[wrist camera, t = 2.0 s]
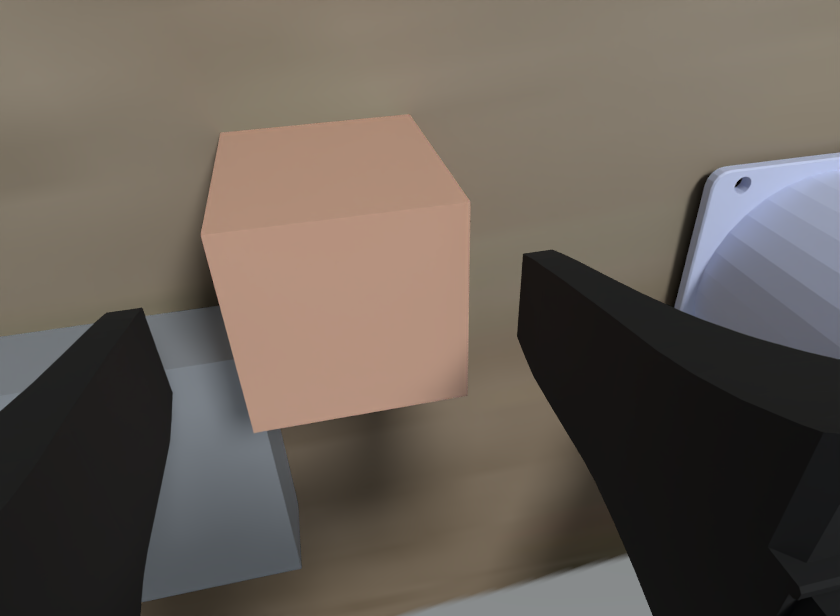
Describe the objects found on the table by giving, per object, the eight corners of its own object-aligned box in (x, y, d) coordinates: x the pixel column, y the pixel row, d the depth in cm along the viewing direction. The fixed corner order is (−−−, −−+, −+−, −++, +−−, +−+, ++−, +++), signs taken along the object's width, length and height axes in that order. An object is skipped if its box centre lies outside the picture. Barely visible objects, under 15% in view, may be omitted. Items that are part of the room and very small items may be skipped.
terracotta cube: (409, 113, 15) (470, 201, 11) (415, 271, 18) (467, 395, 13) (220, 132, 14) (200, 234, 10) (256, 293, 17) (253, 433, 12)
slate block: (250, 293, 17) (247, 356, 15) (297, 496, 22) (301, 568, 20) (-96, 342, 16) (-162, 420, 13) (38, 546, 21) (8, 630, 19)
